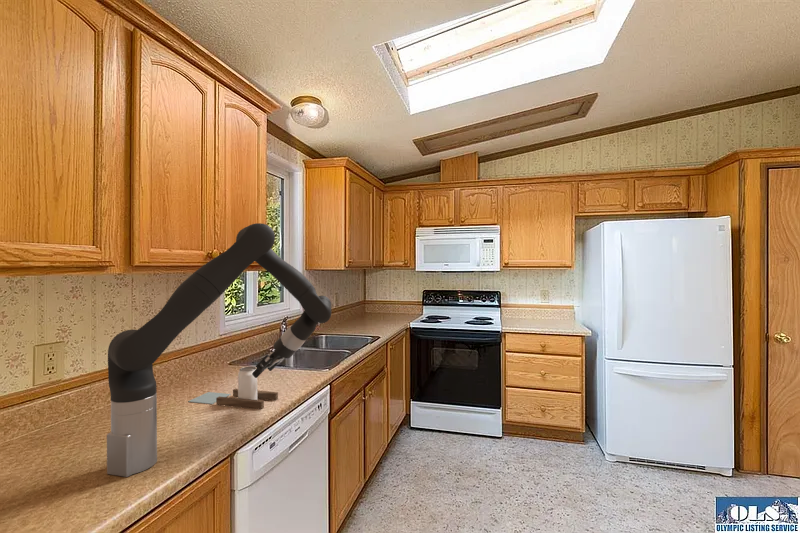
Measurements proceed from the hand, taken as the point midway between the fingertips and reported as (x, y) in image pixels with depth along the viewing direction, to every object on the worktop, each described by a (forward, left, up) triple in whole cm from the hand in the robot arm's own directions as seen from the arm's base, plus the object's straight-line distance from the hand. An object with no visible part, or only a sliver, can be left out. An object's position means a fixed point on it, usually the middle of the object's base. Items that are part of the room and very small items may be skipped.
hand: (261, 372), depth 134 cm
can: (0, +6, -11) cm, 13 cm away
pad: (0, +22, -11) cm, 24 cm away
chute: (0, +6, -11) cm, 12 cm away
